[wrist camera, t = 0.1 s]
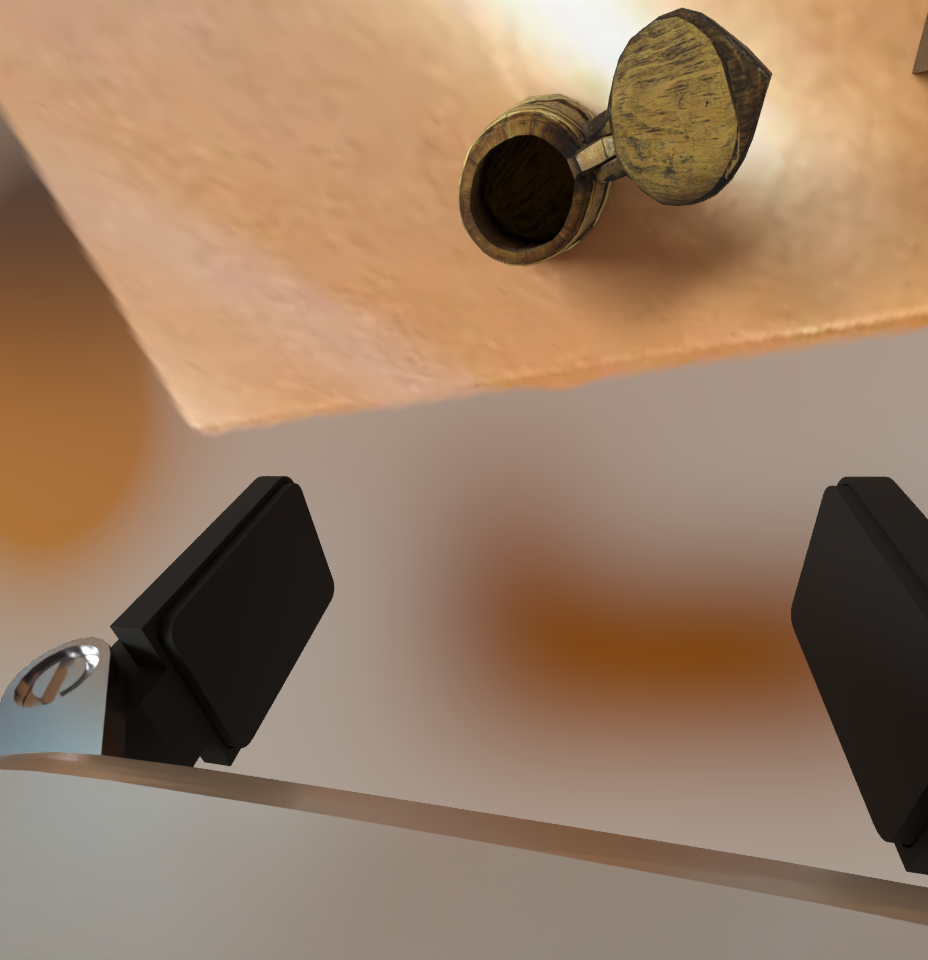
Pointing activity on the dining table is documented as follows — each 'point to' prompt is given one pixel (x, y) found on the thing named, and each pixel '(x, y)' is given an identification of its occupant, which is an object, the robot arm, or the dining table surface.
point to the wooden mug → (615, 141)
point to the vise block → (922, 52)
